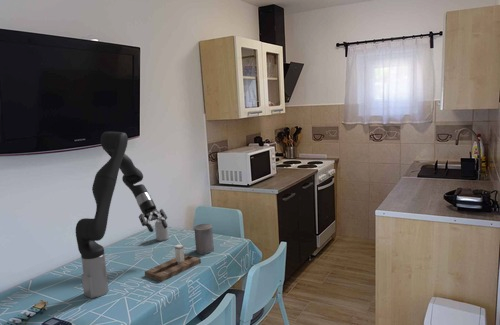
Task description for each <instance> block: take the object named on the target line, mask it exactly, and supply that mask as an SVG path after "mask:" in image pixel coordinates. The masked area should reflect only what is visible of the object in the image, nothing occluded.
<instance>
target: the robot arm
mask: <svg viewBox="0 0 500 325" xmlns="http://www.w3.org/2000/svg"><path fill="white" fill-rule="evenodd" d="M128 141H129V137H128V135H127V133H126V132H122V131H104V132H103V133H102V134H101V136H100V145H101V148H102V149H103V150H104V152H105V153H107V155H109V157H110V158H109V160H108V161H107V162H106V163H105V164H104V165H103V166H101V167H100V169H99V170H98V171H96V174H95V176H94V180H93V183H92V187H91V188H92V189H91V190H92V195H93V197H94V202H95V203H96V210H95V214H94V218H89V217H87V218H80V219H79V220H78V221H77V223H76V226H75V238H76V242H77V249H78V252H79V254H80V258H81V265H82V272H83V273H82V274H81V281H82V288H83V296H85V297H88V298H89V299H93V298H99V297H101V296H104V295H106V294H107V293H108V292H109V290H110V289H109V283H108V282H109V281H108V274H107V265H106V264H107V262H106V256H105V248H104V246H103V245H101V244H99V243H98V241H101V240H102V239H104V236H105V234H106V232H107V231H106V230H107V226H108V219H109V213H110V208H111V203H112V199H113V196H114V192H115V188H116V184H117V181H118V175H119V171H121V173H122V179H121V180H122V182H123V184H124V185H125V186H126V187H127V188H129V190H130V191H131V193H132V194H133V197H134V198H135V201H136V203H137V206H138V207H139V209H140V212H141V213H140V214H139V216H138V218H139V221H140V223H141V225H142V227H146V228H147V229H148V231H149V232H150V233H153V232H154V228H153V226H152V224H151V222H153V221H156V220H158V221H160V222H162V225H163V227H164V229H165V228H167V223H166V221H167V219H168V216H167V214H166V213H165V211H164V209H163V208H161V209H160V210H158V209H157V206H156V204H155V202H154V200H153V198H152V195H150V193H149V191H148V189H147V187H146V186H145V185H144V184H141V183H140V182H142V181H143V180H144V179H143V178H144V174H143V173H142V170H140V169H139V168H137V167H136V166H135V164H134V162H133V160H132V159H131V158H130V157H129V156H128V155H127V154H126V151H127V147H128ZM138 183H139V184H138ZM165 220H166V221H165Z"/></svg>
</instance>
